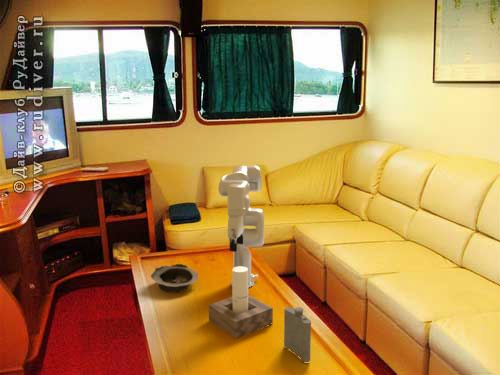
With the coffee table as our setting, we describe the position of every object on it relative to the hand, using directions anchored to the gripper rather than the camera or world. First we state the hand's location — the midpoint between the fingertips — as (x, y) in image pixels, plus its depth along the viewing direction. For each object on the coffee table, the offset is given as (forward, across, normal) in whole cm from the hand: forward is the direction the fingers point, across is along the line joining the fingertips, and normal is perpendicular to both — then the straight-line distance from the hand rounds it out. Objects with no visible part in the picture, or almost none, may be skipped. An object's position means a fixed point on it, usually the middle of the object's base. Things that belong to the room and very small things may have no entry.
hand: (236, 247), depth 229 cm
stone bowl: (+36, -24, -42) cm, 60 cm away
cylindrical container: (+34, +5, +3) cm, 34 cm away
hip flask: (+34, +25, +34) cm, 54 cm away
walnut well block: (+34, +5, +3) cm, 35 cm away
